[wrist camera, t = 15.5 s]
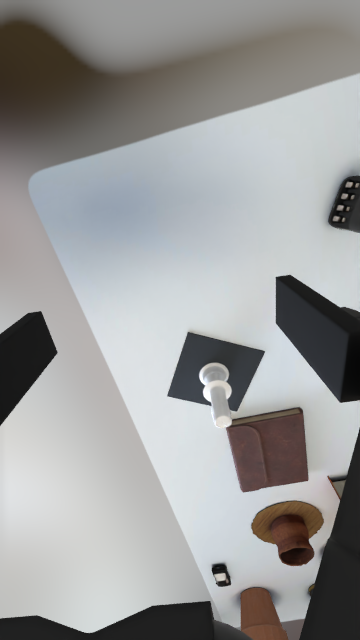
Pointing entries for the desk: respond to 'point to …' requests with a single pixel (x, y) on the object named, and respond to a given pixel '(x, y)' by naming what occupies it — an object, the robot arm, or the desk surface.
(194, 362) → the mat
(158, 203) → the desk surface
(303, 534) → the ceramic pot
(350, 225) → the battery charger
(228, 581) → the toy car
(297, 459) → the notebook
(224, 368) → the candle
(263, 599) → the potted plant
